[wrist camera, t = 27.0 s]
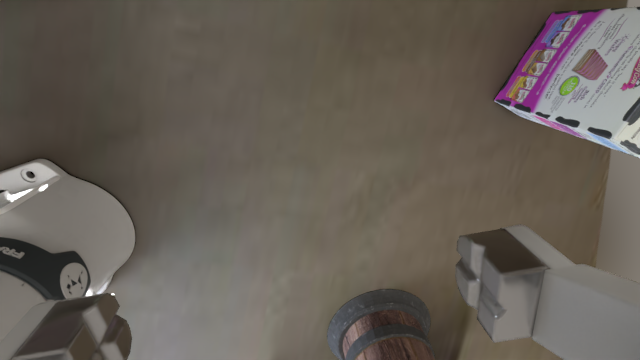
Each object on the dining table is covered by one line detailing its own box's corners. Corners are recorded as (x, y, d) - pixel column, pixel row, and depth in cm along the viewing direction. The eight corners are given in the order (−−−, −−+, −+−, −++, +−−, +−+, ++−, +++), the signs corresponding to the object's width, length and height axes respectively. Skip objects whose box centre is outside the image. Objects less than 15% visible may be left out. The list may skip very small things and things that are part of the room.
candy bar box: (521, 118, 43) (649, 165, 28) (491, 100, 42) (610, 141, 27) (583, 31, 40) (766, 33, 25) (552, 9, 38) (727, -3, 23)
